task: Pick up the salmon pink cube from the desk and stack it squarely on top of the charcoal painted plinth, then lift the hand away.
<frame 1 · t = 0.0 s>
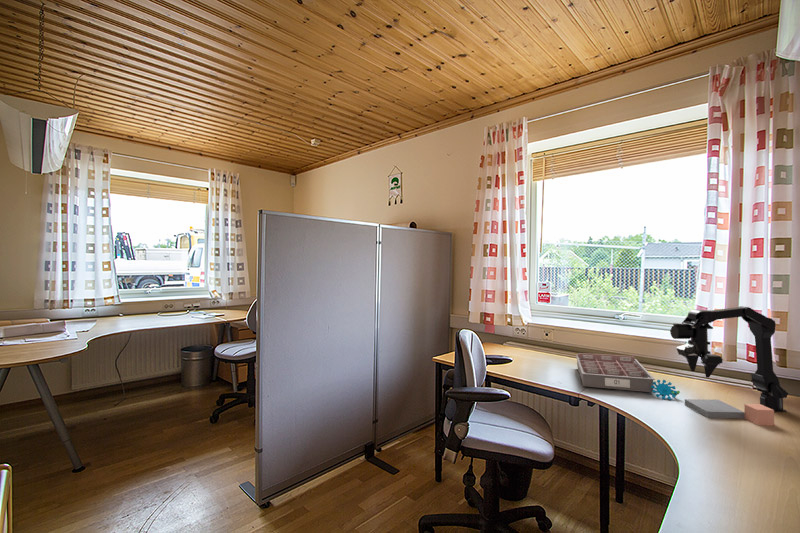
hand: (700, 374, 161), 15 cm above the table, tool pointing down, fingers open, 9 cm apart
plinth: (713, 411, 157), on the table
blue spiky toy: (665, 398, 174), on the table
salmon pink cube: (759, 422, 146), on the table
organizer tray: (611, 380, 201), on the table
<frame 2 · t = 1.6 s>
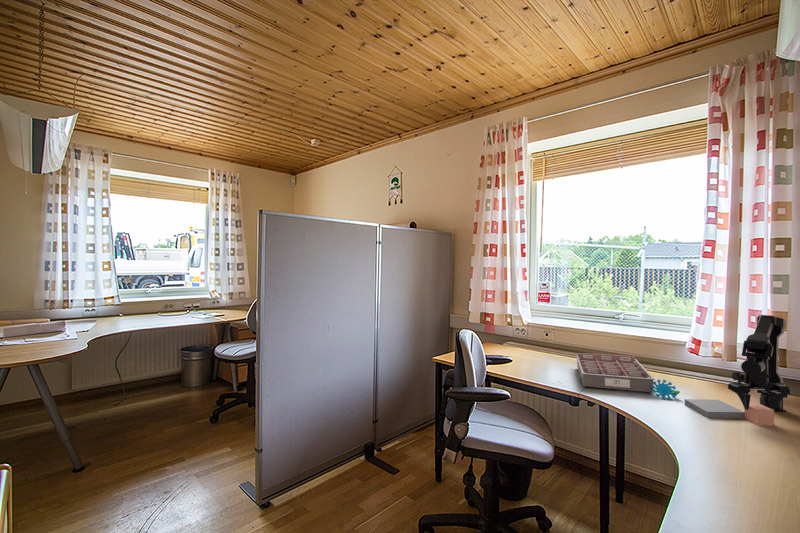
hand: (759, 409, 146), 5 cm above the table, tool pointing down, fingers open, 9 cm apart
nothing on the table moved.
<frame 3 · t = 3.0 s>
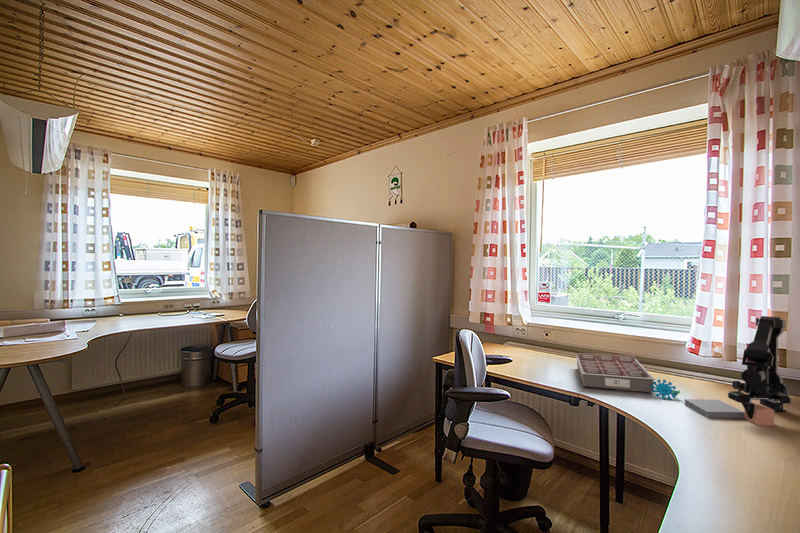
hand: (759, 418, 146), 1 cm above the table, tool pointing down, fingers closed on salmon pink cube, 6 cm apart
salmon pink cube: (759, 421, 145), on the table, touching gripper
everything else where it was.
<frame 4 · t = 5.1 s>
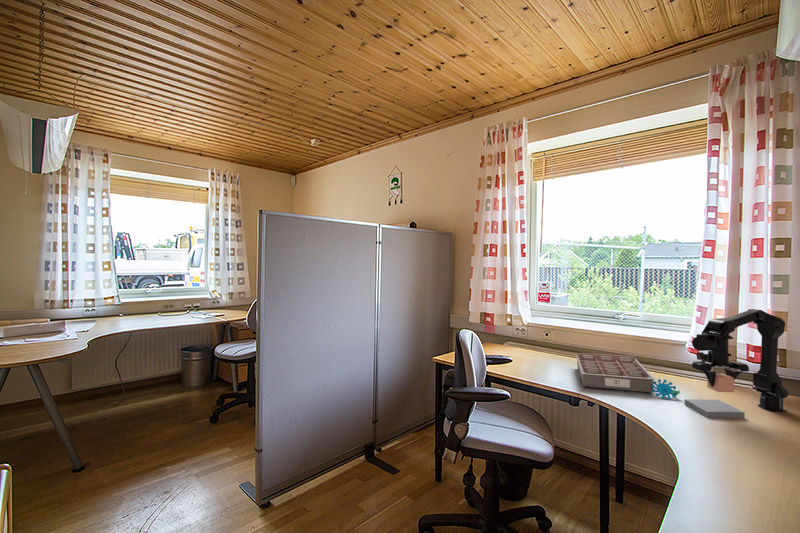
hand: (720, 386, 154), 11 cm above the table, tool pointing down, fingers closed on salmon pink cube, 6 cm apart
salmon pink cube: (720, 389, 154), point 10 cm above the table, touching gripper
everything else where it was.
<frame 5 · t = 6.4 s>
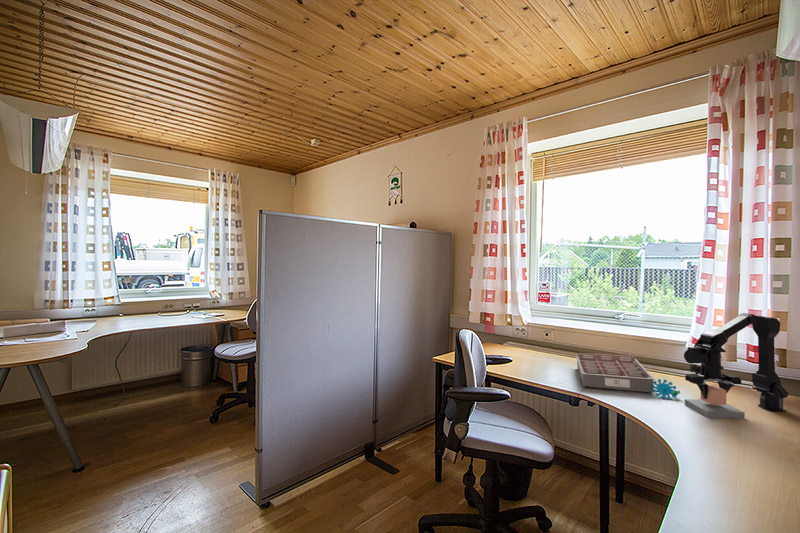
hand: (713, 398, 157), 5 cm above the table, tool pointing down, fingers closed on salmon pink cube, 6 cm apart
salmon pink cube: (713, 401, 156), point 4 cm above the table, touching gripper
everything else where it was.
when the fingers open (5 cm above the table, at t = 7.2 s): salmon pink cube drops 1 cm, resting on plinth.
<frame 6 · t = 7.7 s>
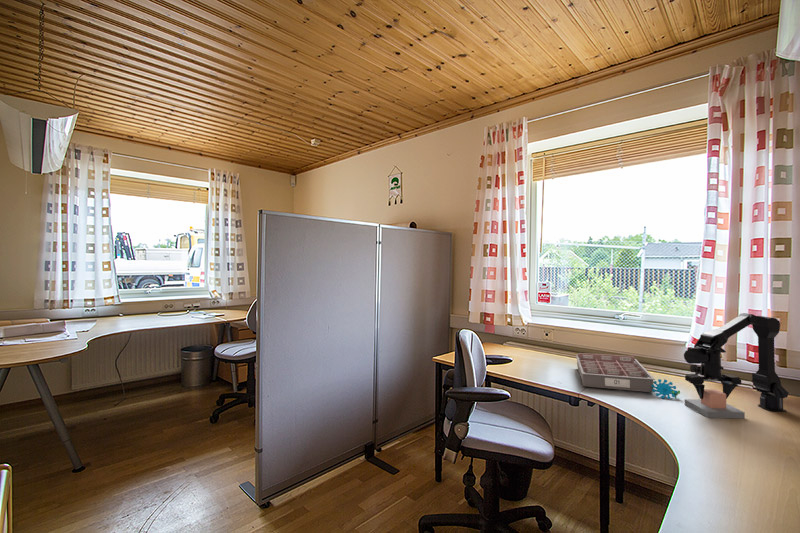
hand: (713, 399, 157), 5 cm above the table, tool pointing down, fingers open, 9 cm apart
salmon pink cube: (713, 405, 156), point 2 cm above the table, touching plinth
everything else where it was.
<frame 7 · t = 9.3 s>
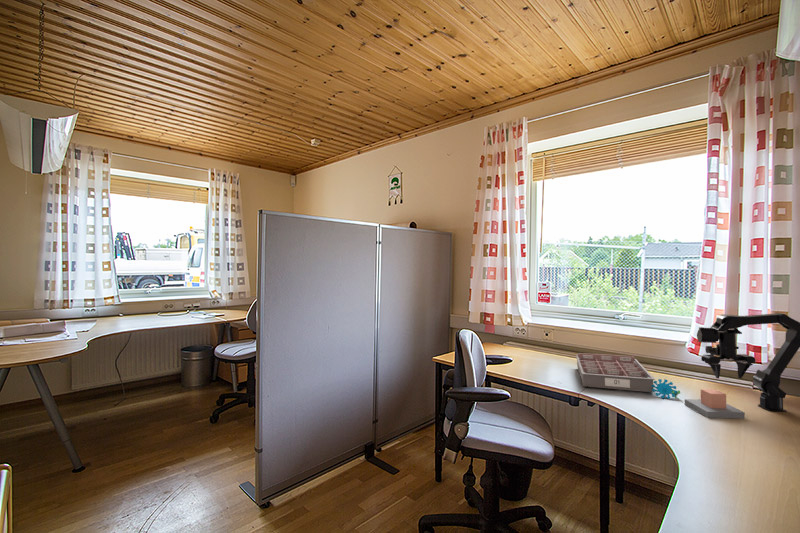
hand: (728, 378, 163), 12 cm above the table, tool pointing down, fingers open, 9 cm apart
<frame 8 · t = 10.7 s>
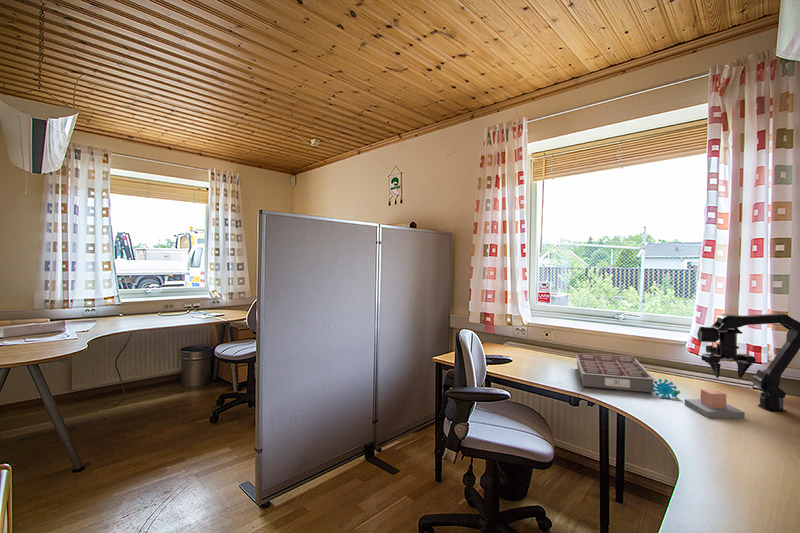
hand: (728, 377, 163), 12 cm above the table, tool pointing down, fingers open, 9 cm apart
at the end: salmon pink cube inside the target area on the plinth (0.1 cm from its centre), point 2.5 cm above the plinth's base; salmon pink cube tilted 0°; the gripper is holding nothing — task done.
